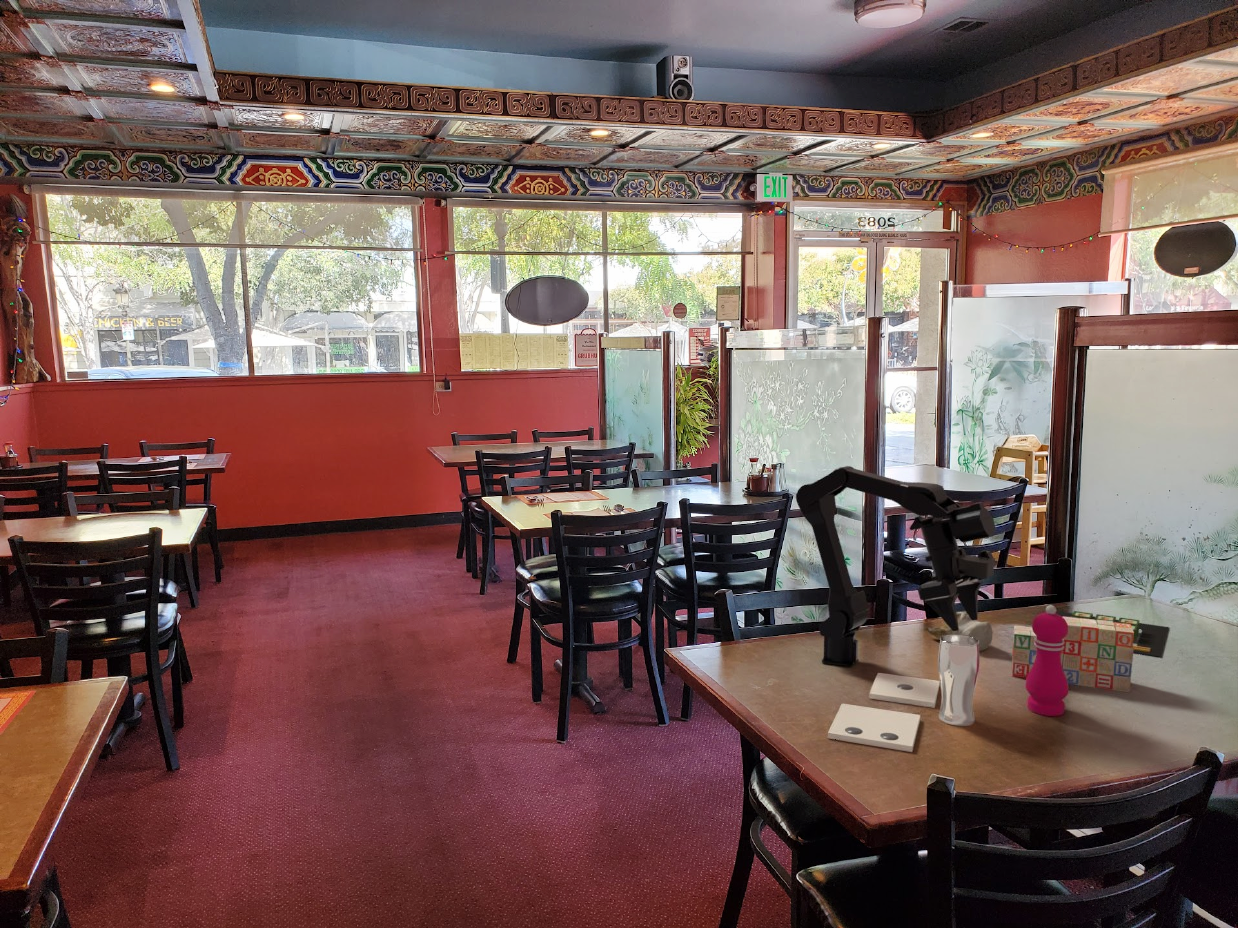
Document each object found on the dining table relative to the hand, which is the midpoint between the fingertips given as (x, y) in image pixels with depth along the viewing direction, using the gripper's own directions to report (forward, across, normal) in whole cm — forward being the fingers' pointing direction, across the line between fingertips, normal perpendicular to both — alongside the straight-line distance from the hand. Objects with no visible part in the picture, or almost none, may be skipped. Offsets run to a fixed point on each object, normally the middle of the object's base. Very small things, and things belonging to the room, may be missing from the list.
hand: (965, 625), depth 173 cm
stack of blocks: (+18, +21, -8) cm, 29 cm away
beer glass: (+14, -14, +1) cm, 20 cm away
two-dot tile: (+11, -27, +9) cm, 31 cm away
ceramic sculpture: (+9, +29, +16) cm, 34 cm away
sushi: (+17, +58, -4) cm, 61 cm away
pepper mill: (+18, +2, -9) cm, 20 cm away
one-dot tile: (+10, -7, +12) cm, 18 cm away
